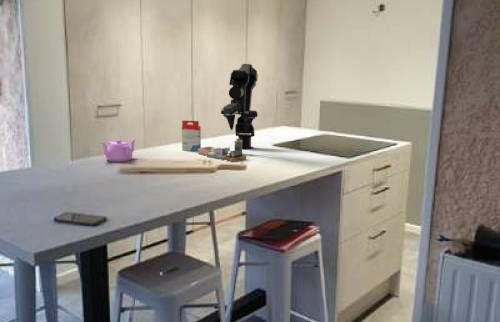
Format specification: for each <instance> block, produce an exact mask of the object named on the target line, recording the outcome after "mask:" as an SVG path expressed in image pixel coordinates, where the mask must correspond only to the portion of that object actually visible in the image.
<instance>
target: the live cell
mask: <svg viewBox="0 0 500 322" xmlns="http://www.w3.org/2000/svg"><path fill="white" fill-rule="evenodd" d="M242 155H243V151H242V152H241V150H236V151H235V150H230V151H229V152H227V154H226V157H228V158H235V157H240V156H242Z"/></svg>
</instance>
